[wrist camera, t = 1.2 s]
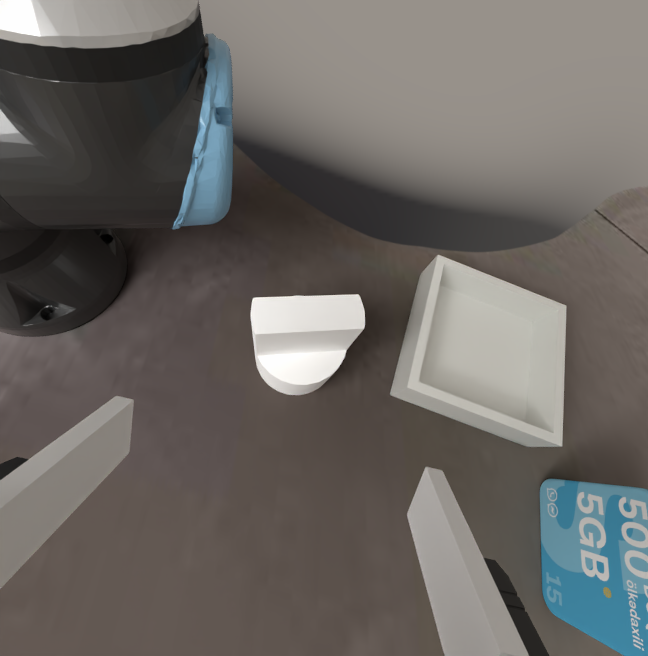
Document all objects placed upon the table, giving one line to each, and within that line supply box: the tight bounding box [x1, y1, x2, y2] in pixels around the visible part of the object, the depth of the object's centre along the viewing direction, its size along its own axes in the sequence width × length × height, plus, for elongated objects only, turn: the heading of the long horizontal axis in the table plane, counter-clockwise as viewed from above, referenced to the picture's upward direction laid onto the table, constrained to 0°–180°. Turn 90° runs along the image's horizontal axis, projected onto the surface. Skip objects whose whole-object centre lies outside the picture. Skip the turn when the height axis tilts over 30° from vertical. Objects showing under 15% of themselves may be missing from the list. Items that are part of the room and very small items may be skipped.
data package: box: [540, 479, 648, 656], centre depth 28 cm, size 12×4×12 cm, turn 166°
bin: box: [390, 255, 566, 447], centre depth 37 cm, size 17×17×5 cm
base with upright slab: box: [251, 294, 365, 395], centre depth 30 cm, size 9×9×12 cm
